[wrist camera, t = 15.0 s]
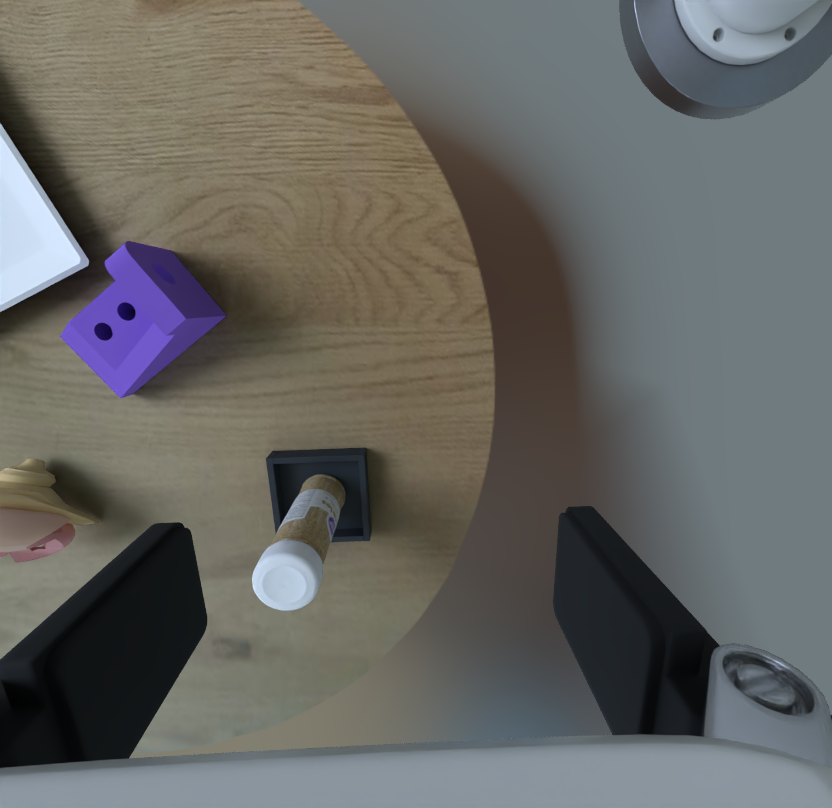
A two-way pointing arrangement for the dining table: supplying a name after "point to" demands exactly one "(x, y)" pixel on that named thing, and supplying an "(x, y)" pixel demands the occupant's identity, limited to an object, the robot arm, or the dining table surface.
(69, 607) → the robot arm
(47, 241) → the plate
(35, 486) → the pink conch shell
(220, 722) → the dining table surface
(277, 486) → the dark grey square tray
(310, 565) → the sprinkles bottle
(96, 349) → the bracket
